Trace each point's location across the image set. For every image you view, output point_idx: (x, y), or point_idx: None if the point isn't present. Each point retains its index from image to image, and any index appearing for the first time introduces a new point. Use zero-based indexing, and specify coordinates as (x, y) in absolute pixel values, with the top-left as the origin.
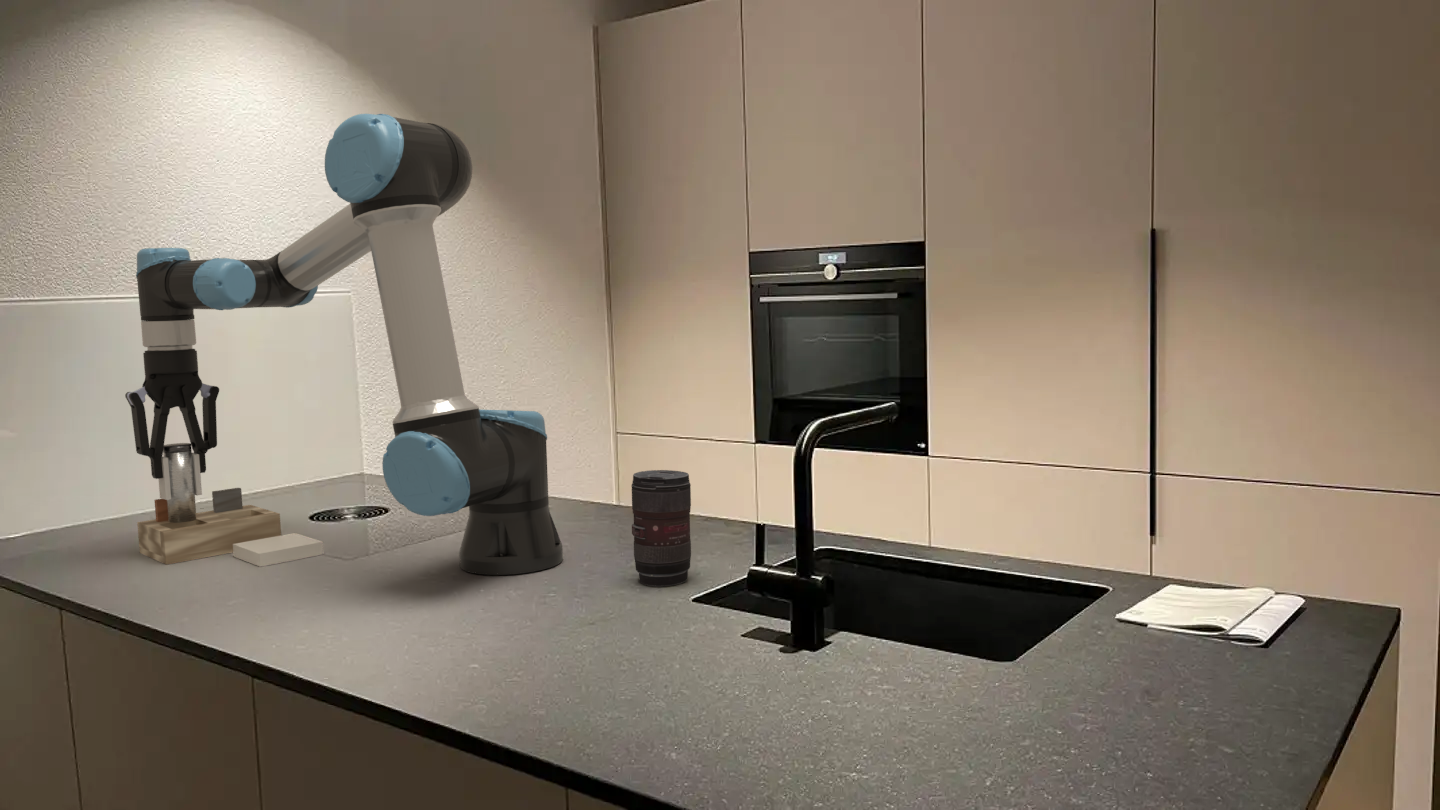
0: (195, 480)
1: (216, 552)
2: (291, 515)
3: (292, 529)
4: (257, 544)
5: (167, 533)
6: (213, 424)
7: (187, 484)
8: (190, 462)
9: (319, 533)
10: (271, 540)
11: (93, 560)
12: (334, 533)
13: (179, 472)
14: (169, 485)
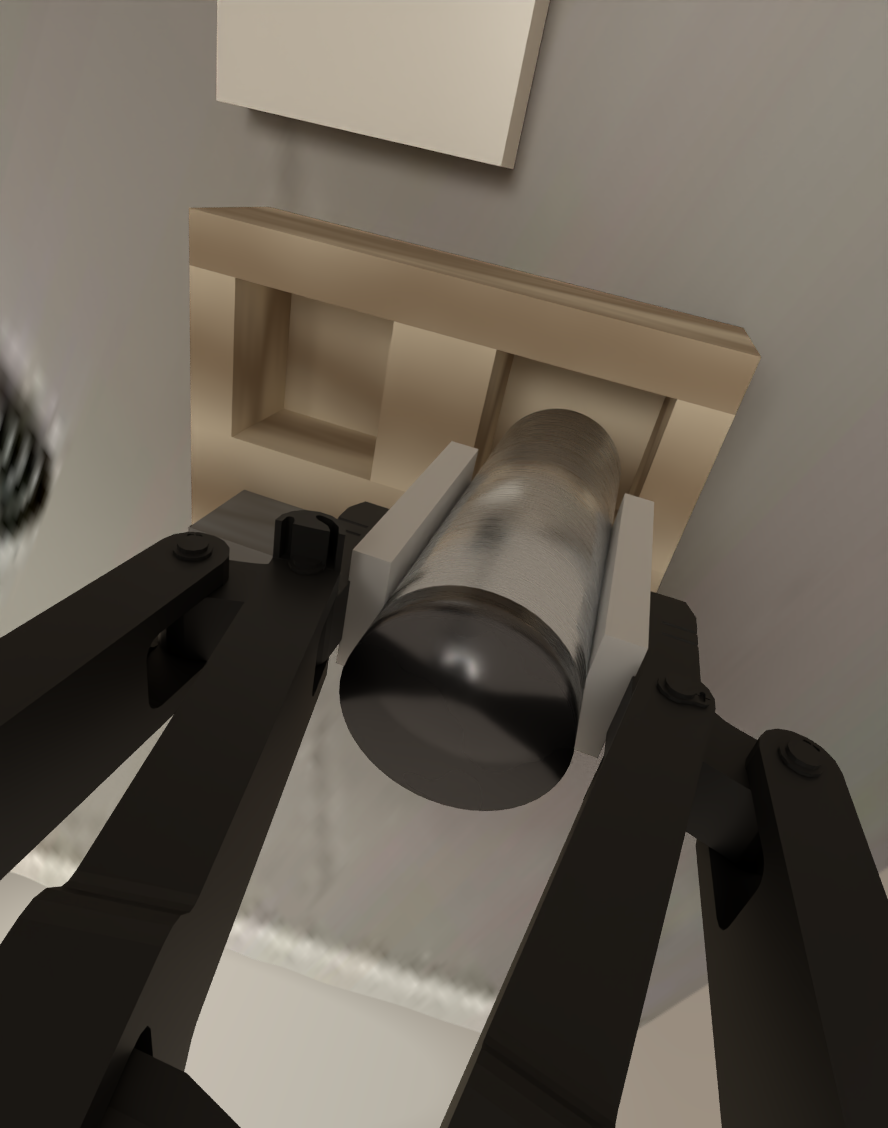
0: (451, 491)
1: (529, 274)
2: (73, 581)
3: (142, 403)
4: (449, 10)
5: (742, 349)
6: (30, 648)
7: (525, 474)
8: (443, 544)
9: (101, 232)
10: (360, 37)
11: (774, 665)
12: (62, 166)
13: (555, 526)
14: (624, 529)
